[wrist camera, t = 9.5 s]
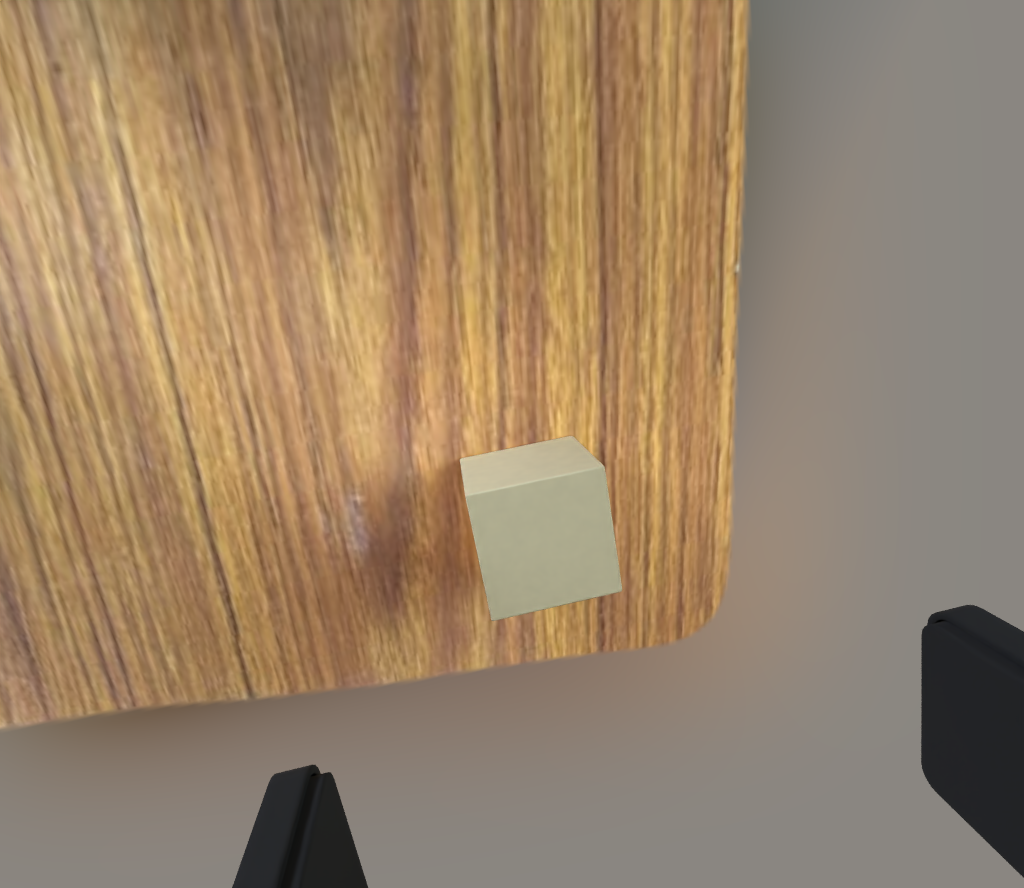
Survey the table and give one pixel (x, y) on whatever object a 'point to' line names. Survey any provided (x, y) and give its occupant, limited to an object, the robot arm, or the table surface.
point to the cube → (541, 526)
